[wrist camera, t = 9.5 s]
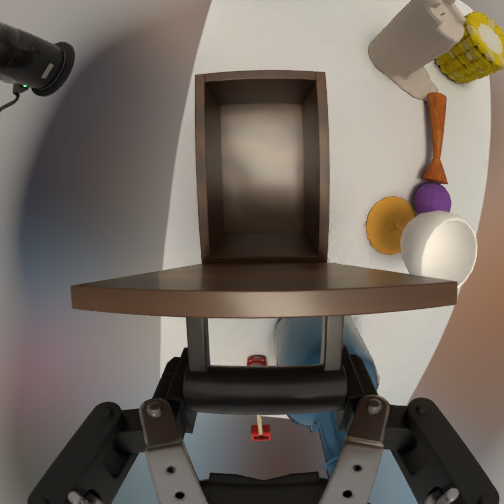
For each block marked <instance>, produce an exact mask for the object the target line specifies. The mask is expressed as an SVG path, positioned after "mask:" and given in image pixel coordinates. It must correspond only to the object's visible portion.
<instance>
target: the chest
mask: <svg viewBox="0 0 504 504" xmlns="http://www.w3.org/2000/svg"><path fill="white" fill-rule="evenodd" d="M195 146H196V176H197V198H198V216H199V232H200V246H201V259H202V264H249V263H318V262H327V254H328V232H329V185H330V172H329V126H328V105H327V89H326V76H325V72H313V71H292V70H253V71H232V72H219V73H208V74H199V75H195Z"/></svg>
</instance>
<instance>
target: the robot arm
mask: <svg viewBox="0 0 504 504" xmlns="http://www.w3.org/2000/svg"><path fill="white" fill-rule="evenodd" d="M66 61H67V53H66V50H65V49H64V48H62V47H60V46H56V45H54V44H52V43H50V42H48V41H46V40H43V39H41V38H39V37H37V36H34V35H32V34H29V33H27V32H25V31H22V30H20V29H17V28H15V27H12V26H9V25H7V24H4V23H1V22H0V80H1V81H3V82H6V83H11V84H14V86H13V94H14V95H16V98H15V99H14V100H13V101H11V102H9V103H7V104H5V105H3V106H2V107H0V112H1V111H2V110H3V109H5V108H7V107H9V106H11V105H13V104H15V103H16V102H17V101H18V99H19V97H20V94H19V93H22V92H24V91H26V90H28V87H30V88H36V89H39V90H45V89H47V88H49V87H51V86H52V85H53V84H54V83H55V82H56V81H57V80H58V79H59V77H60V76H61V74H62V72H63V70H64V68H65V65H66ZM341 364H342V365H343V367H344V369H345V373H346V378H347V398H346V403H345V406H344V408H343V409H342V410H338V411H334V414H335V419H336V423H337V427H338V431H339V432H340V431H346V433H347V437H346V440H345V443H344V446H343V448H342V451H341V453H340V456H339V458H338V461H337V463H336V466H335V468H334V471H333V473H332V475H331V478H330V479H325V478H319V473H318V472H308V473H295V474H289V475H285V476H281V477H277V478H273V479H269V480H259V479H254V478H250V477H245V476H241V475H237V474H222V473H210V476H209V479H204V480H199V479H198V477H197V474H196V472H195V470H194V467H193V465H192V462H191V460H190V457H189V454H188V452H187V449H186V447H185V444H184V441H183V438H184V434H185V433H192V432H193V428H194V424H195V420H196V416H197V412H192V411H188V410H187V409H186V407H185V404H184V398H183V383H184V376H185V372H186V369H187V367H188V365H189V355H188V348H186V347H185V348H184V350H183V352H182V355H181V357H174V358H172V359H171V360H170V361H169V362H168V363H167V365H166V367H165V370H164V372H163V374H162V378H161V379H160V381H159V384H158V386H157V388H156V391H155V393H154V396H153V398H152V399H149V400H147V401H145V402H144V403H143V404H142V405H141V406H140V408H139V409H131V410H121V408H120V406H119V405H117V404H116V403H113V402H104V403H101V404H99V405H97V406H96V407H95V408H94V409H93V411H92V412H91V413H90V414H89V416H88V417H87V418H86V420H85V421H84V422H83V423H82V425H81V426H80V427H79V429H78V430H77V431H76V433H75V434H74V435H73V437H72V438H71V439H70V441H69V442H68V443H67V445H66V446H65V447H64V449H63V450H62V451H61V453H60V454H59V456H58V457H57V458H56V459H55V461H54V462H53V463H52V465H51V466H50V467H49V469H48V470H47V472H46V473H45V475H44V476H43V477H42V478H41V480H40V481H39V483H38V484H37V486H36V487H35V488H34V490H33V491H32V492H31V494H30V495H29V497H28V504H111V503H112V501H113V499H114V497H115V496H116V494H117V492H118V490H119V488H120V487H121V484H122V483H123V481H124V479H125V477H126V476H127V474H128V472H129V470H130V468H131V466H132V465H133V463H134V461H135V459H136V457H137V456H138V454H139V453H140V452H145V455H146V459H147V463H148V467H149V471H150V475H151V478H152V482H153V485H154V489H155V492H156V495H157V499H158V502H159V504H370V503H368V500H369V497H370V494H371V491H372V488H373V485H374V481H375V478H376V475H377V472H378V468H379V464H380V460H381V457H382V453H383V449H389V450H391V452H392V454H393V456H394V458H395V460H396V461H397V463H398V465H399V467H400V469H401V471H402V473H403V475H404V476H405V479H406V481H407V482H408V485H409V486H410V488H411V490H412V492H413V494H414V496H415V498H416V500H417V502H418V504H499V494H498V492H497V490H496V488H495V487H494V486H493V484H492V483H491V481H490V479H489V478H488V476H487V475H486V473H485V472H484V470H483V469H482V468H481V466H480V465H479V463H478V462H477V460H476V459H475V458H474V456H473V455H472V453H471V452H470V451H469V449H468V448H467V446H466V445H465V443H464V442H463V441H462V439H461V438H460V437H459V435H458V434H457V432H456V431H455V430H454V428H453V427H452V426H451V424H450V423H449V422H448V420H447V419H446V418H445V416H444V415H443V414H442V413H441V411H440V410H439V409H438V407H437V406H436V405H435V403H434V402H433V401H431V400H430V399H427V398H416V399H413V400H412V401H411V402H410V403H409V405H408V406H397V405H390V404H389V403H388V401H387V400H386V399H385V398H383V397H381V396H378V393H377V391H376V389H375V386H374V384H373V382H372V380H371V377H370V375H369V373H368V370H367V369H366V366H365V364H364V362H363V360H362V359H361V358H360V357H359V356H358V355H357V354H349V352H348V350H347V347H346V345H343V346H342V359H341Z"/></svg>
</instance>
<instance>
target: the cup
mask: <svg viewBox="0 0 504 504" xmlns="http://www.w3.org/2000/svg"><path fill="white" fill-rule="evenodd" d="M366 231H367V237H368V239H369V241H370V243H371V245H372V247H374V248H375V249H376V250H377V251H379V252H380V253H384V254H388V255H391V254H396V253H400V252H401V256H402V258H403V260H404V263H405V265H406V267H407V269H408V271H409V273H410V274H411V275H418V276H425V277H432V278H439V279H445V280H452V281H457V282H458V287H460V286H461V285H462V284H463V283H464V282H465V281H466V279H467V278H468V276H469V275H470V273H471V272H472V270H473V267H474V264H475V261H476V258H477V240H476V236H475V232H474V230H473V229H472V227H471V226H470V225H469V223H468V222H467V221H466V220H464V219H462V218H461V217H459V216H457V215H455V214H452V213H450V212H446V211H439V210H438V211H432V212H427V213H421V214H419V215H418V216H416V215H415V213H414V210H413V208H412V206H411V205H410V204H409V203H408V202H406V201H405V200H404V199H401V198H398V197H395V196H394V197H387V198H384V199H382V200H381V201H379V202H378V203H376V204H375V205H374V207H373V208H372V210H371V211H370V212H369V215H368V219H367V223H366ZM458 287H457V288H458Z"/></svg>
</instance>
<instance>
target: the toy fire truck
mask: <svg viewBox="0 0 504 504" xmlns="http://www.w3.org/2000/svg"><path fill="white" fill-rule="evenodd" d="M247 366H267V363H266V358H265V357H260V356H255V357H250V358H248V362H247ZM257 420H258V425H252V426H251V437H252V440H253V441H259V440H271V434H270V425H262V421H261V415H257Z"/></svg>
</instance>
